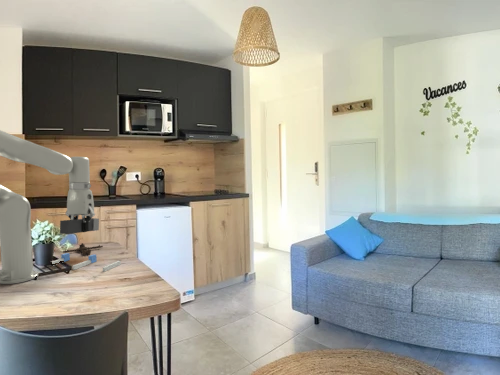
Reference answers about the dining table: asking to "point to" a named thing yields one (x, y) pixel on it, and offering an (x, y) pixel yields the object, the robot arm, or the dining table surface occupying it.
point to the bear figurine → (83, 249)
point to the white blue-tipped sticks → (86, 262)
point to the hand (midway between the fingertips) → (80, 231)
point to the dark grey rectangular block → (77, 226)
